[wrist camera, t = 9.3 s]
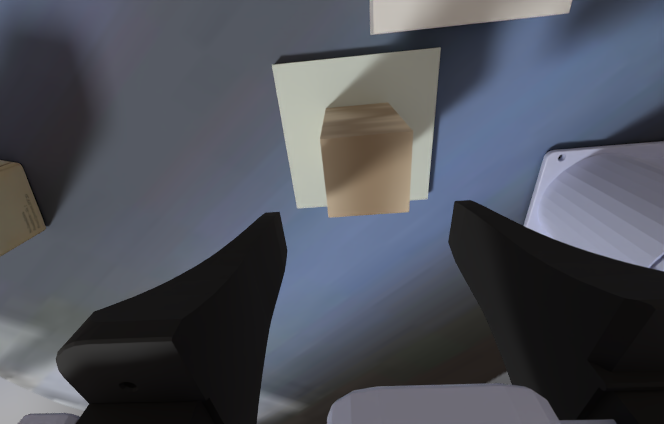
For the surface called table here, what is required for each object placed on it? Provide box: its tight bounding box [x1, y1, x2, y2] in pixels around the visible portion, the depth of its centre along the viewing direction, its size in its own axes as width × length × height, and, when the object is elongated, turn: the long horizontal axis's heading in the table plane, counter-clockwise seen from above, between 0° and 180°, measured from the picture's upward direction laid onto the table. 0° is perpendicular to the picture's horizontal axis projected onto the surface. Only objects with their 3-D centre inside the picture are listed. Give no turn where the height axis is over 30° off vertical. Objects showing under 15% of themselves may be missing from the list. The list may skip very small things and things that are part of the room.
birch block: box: [320, 102, 413, 217], centre depth 16 cm, size 4×4×7 cm
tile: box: [272, 47, 441, 208], centre depth 20 cm, size 10×10×1 cm
